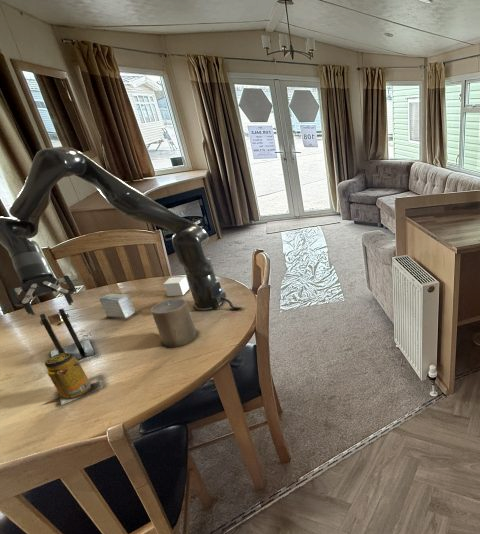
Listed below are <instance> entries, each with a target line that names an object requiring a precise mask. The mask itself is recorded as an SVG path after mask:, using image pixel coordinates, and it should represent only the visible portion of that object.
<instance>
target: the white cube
mask: <svg viewBox="0 0 480 534" xmlns="http://www.w3.org/2000/svg"><path fill="white" fill-rule="evenodd" d="M162 284H163V287H164V291H165V293H166V297H175V296H184V295H185V294H186V293H187V292H188V290H190V287H189V283H188V280H187V277H186V276H177V277H176V276H175V277H169V278H168V279H167V280H165V282H163V283H162Z"/></svg>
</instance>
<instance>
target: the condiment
mask: <svg viewBox="0 0 480 534" xmlns="http://www.w3.org/2000/svg"><path fill="white" fill-rule="evenodd" d="M44 366H45V367H46V369H47V372H46V373H47V375H48V377H49V378H50V380H51V382H52V384H53V386H54V387H55V389H56V390H57V392H58V394H59V395H60V396H59V401H60V405H61V406H63V405H65V404H68V403H70V402H73V401H75V400H78V399H80V398H82V397H85V396H87V395H89V394H91V393H94V392H96V391H98V390H101V389H103V388H104V385H103V383H102V380H98V381H95V382H94V383H93V382H92V383H91V382H90V380H89V378H88V375H87V374H86V372H85V371H84V369H83V367H82V365H81V363H80V360H75V357H73V354H72V353H61V354H57V355H55V356H50V357H49V358H47V359H46V360H45V362H44Z"/></svg>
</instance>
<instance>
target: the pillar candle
mask: <svg viewBox="0 0 480 534" xmlns="http://www.w3.org/2000/svg"><path fill="white" fill-rule="evenodd" d="M150 313H151V315H152V317H153V320H154V323H155V325H156V329H157V330H158V333H159V335H160V338H161V341H162V343H163V345H164V346H165V347H168V348H176V347H180V346H184V345H187V344H189V343H191V342H193V341H194V340H195V339H196V338H197V337H198V333H197V330H196V327H195V324H194V321H193V318H192V315H191V312H190V309H189V306H188V304H187V301H186V300H185V299H184V298H170V299H166V300H162V301H160V302H158V303H155V305H153V306H152V307H150Z"/></svg>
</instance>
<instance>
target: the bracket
mask: <svg viewBox="0 0 480 534" xmlns="http://www.w3.org/2000/svg"><path fill="white" fill-rule="evenodd" d="M58 312H59V316H61V317H62V319H63V321H64V323H65V324H64V325H65V327H66V329H67V330H68V333H69V334H70V336H71V338H72V341H73V342H74V343H71V344H69V345H65V346H62V344H61V341H60V340H59V338H58V336H57V334H56V333H55V331H54V329H53V326H52V325H51V324H50V321H49V319H48V317H47V315H46V313H41V314H39V318H40V320H39V323H40V325H41V326H44V329H45V330H46V332H47V334H48V335H49V338H50V339H51V341H52V344H53V345H54V347H55V348H56V349H53V350H50V357H52V356H55V355H57V354H61V353H72V354H73V357H75V360H78V361H80V360H83V359H87V358H89V357H93V356H95V355H96V353H95V351H94V347H93V346H92V344H91V341H90V340H89V338H86V339H84V340H80V339H79V337H78V335H77V332H76V331H75V329H74V327H73V325H72V323H71V321H70V319H69V318H70V315H69V313H66V311H65V309H64V308H60V309H58Z"/></svg>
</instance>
